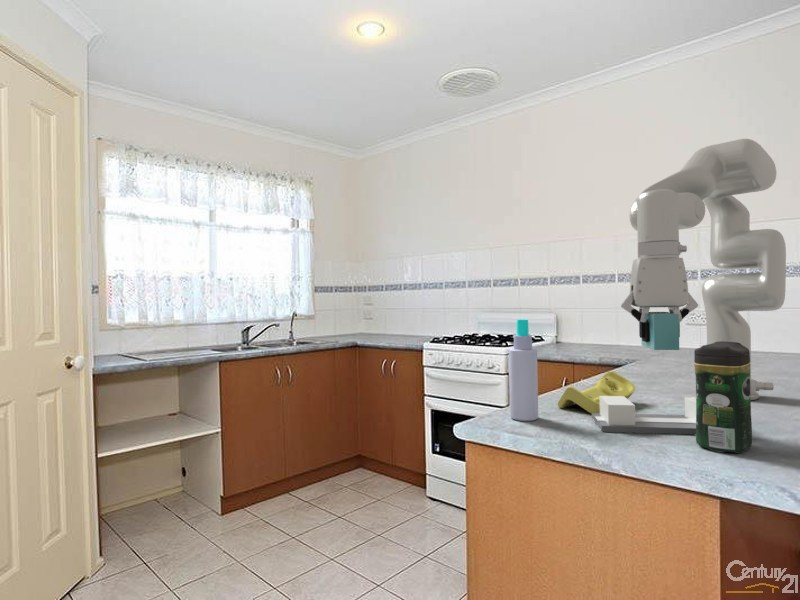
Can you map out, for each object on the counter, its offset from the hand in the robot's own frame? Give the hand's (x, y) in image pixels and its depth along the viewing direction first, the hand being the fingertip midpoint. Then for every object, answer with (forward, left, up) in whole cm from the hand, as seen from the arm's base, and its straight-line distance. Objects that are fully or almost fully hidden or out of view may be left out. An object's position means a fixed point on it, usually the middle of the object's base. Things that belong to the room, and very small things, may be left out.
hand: (659, 340), depth 103 cm
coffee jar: (-7, +13, -18) cm, 23 cm away
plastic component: (+8, -18, -18) cm, 27 cm away
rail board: (0, 0, -18) cm, 18 cm away
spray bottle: (+27, -4, -18) cm, 33 cm away
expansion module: (0, 0, -1) cm, 1 cm away
